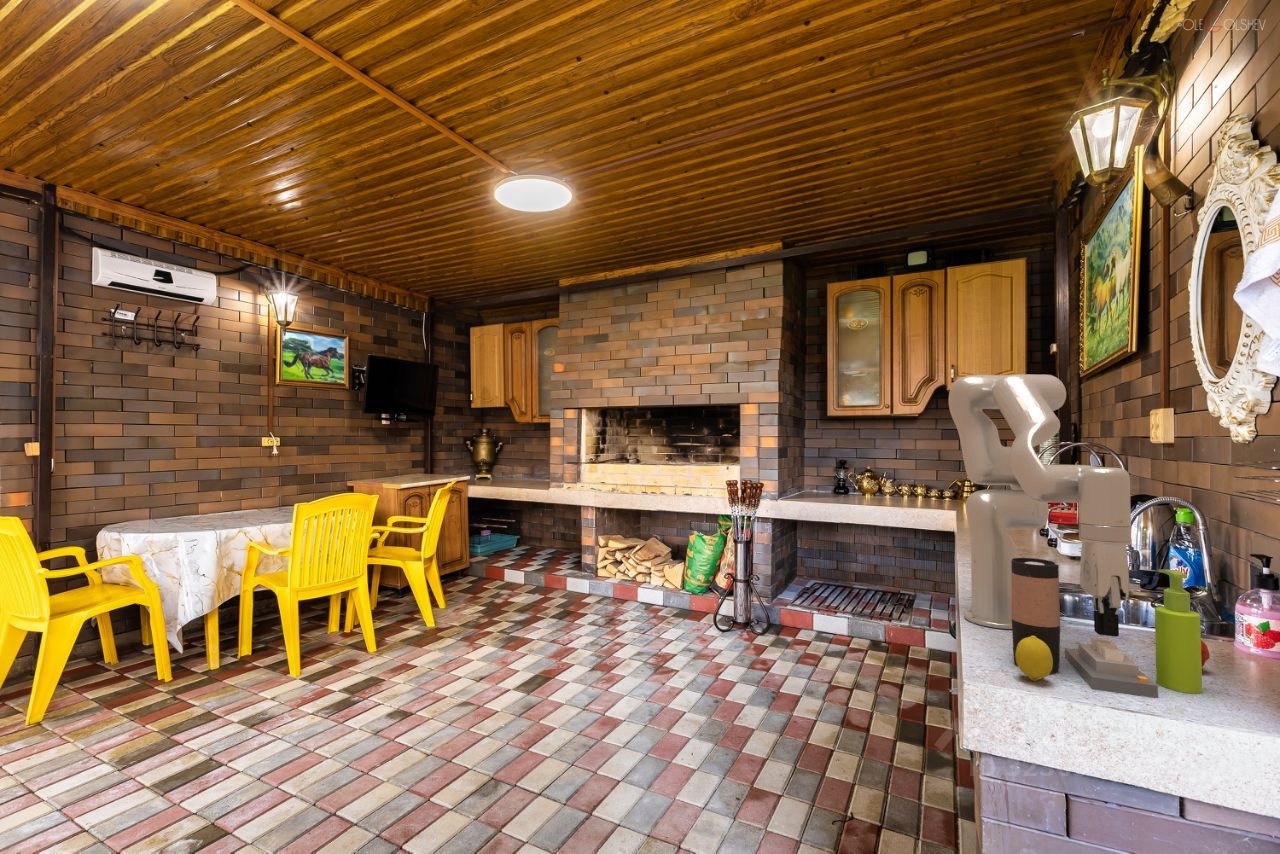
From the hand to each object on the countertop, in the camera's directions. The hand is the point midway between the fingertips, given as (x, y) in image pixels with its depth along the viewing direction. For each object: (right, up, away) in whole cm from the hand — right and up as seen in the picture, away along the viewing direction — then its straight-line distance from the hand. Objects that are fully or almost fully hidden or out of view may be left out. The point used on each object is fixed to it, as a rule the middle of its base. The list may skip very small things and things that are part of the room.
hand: (1106, 634), depth 106 cm
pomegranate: (+18, -8, +4) cm, 20 cm away
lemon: (-15, -8, -3) cm, 17 cm away
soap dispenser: (+9, -8, -4) cm, 13 cm away
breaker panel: (0, -8, 0) cm, 8 cm away
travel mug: (-10, -8, +4) cm, 13 cm away
